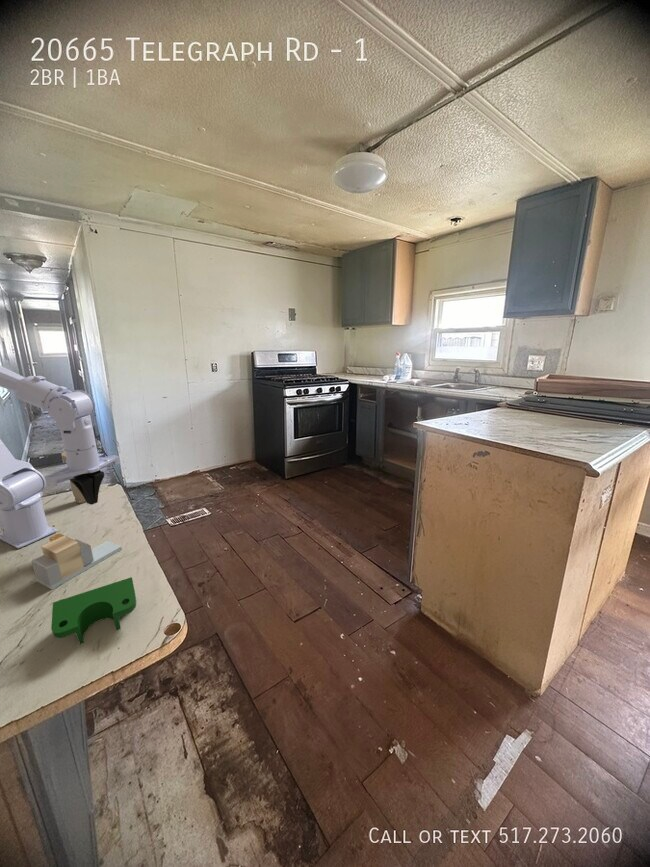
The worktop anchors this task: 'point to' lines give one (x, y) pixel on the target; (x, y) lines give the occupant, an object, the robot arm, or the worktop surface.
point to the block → (64, 555)
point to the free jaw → (84, 549)
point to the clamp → (92, 608)
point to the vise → (52, 578)
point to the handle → (75, 490)
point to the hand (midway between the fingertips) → (92, 502)
